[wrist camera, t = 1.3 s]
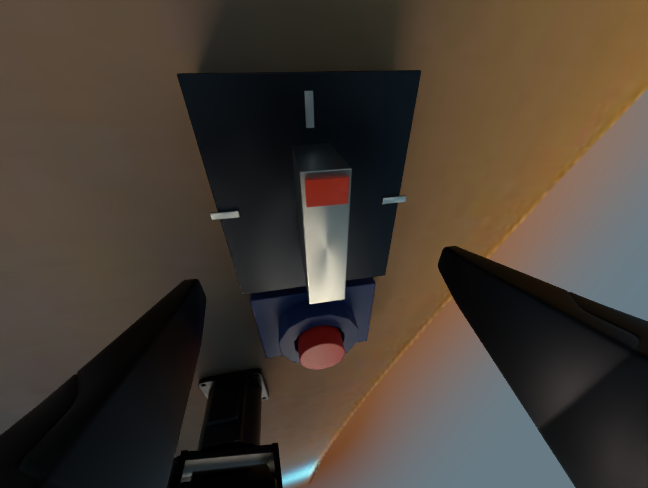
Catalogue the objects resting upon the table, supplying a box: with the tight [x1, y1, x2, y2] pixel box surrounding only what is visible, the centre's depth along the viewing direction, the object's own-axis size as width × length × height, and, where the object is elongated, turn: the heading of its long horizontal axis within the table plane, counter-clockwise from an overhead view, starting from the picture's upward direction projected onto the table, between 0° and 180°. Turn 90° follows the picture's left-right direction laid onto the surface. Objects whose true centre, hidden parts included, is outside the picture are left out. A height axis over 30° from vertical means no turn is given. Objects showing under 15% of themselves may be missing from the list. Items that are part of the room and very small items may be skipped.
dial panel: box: [177, 70, 421, 295], centre depth 14 cm, size 12×11×3 cm
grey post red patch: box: [292, 143, 352, 304], centre depth 11 cm, size 6×2×4 cm, turn 1°
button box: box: [250, 277, 375, 363], centre depth 21 cm, size 8×10×4 cm
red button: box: [298, 325, 345, 370], centre depth 19 cm, size 4×4×2 cm
